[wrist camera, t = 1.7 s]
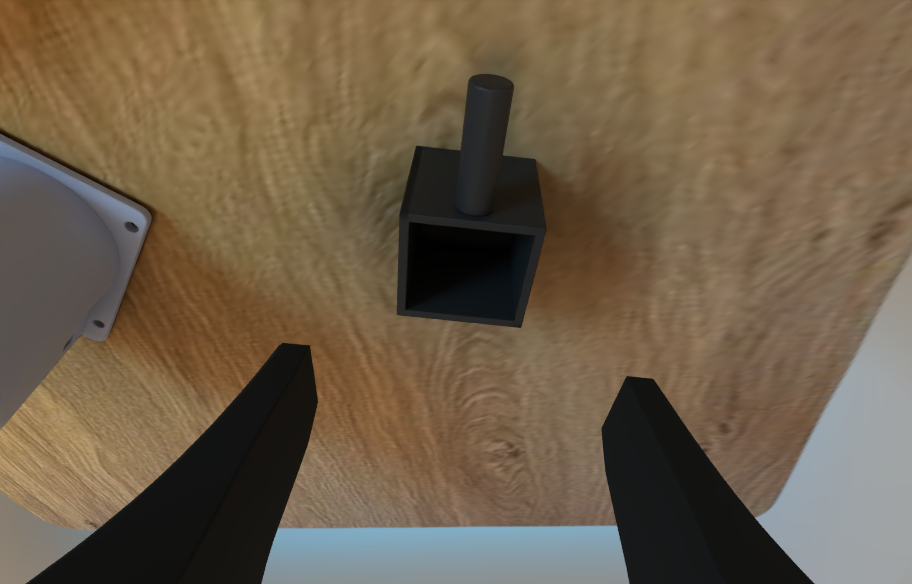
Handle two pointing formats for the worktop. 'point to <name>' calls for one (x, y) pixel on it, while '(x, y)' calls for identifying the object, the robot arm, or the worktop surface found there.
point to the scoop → (471, 221)
